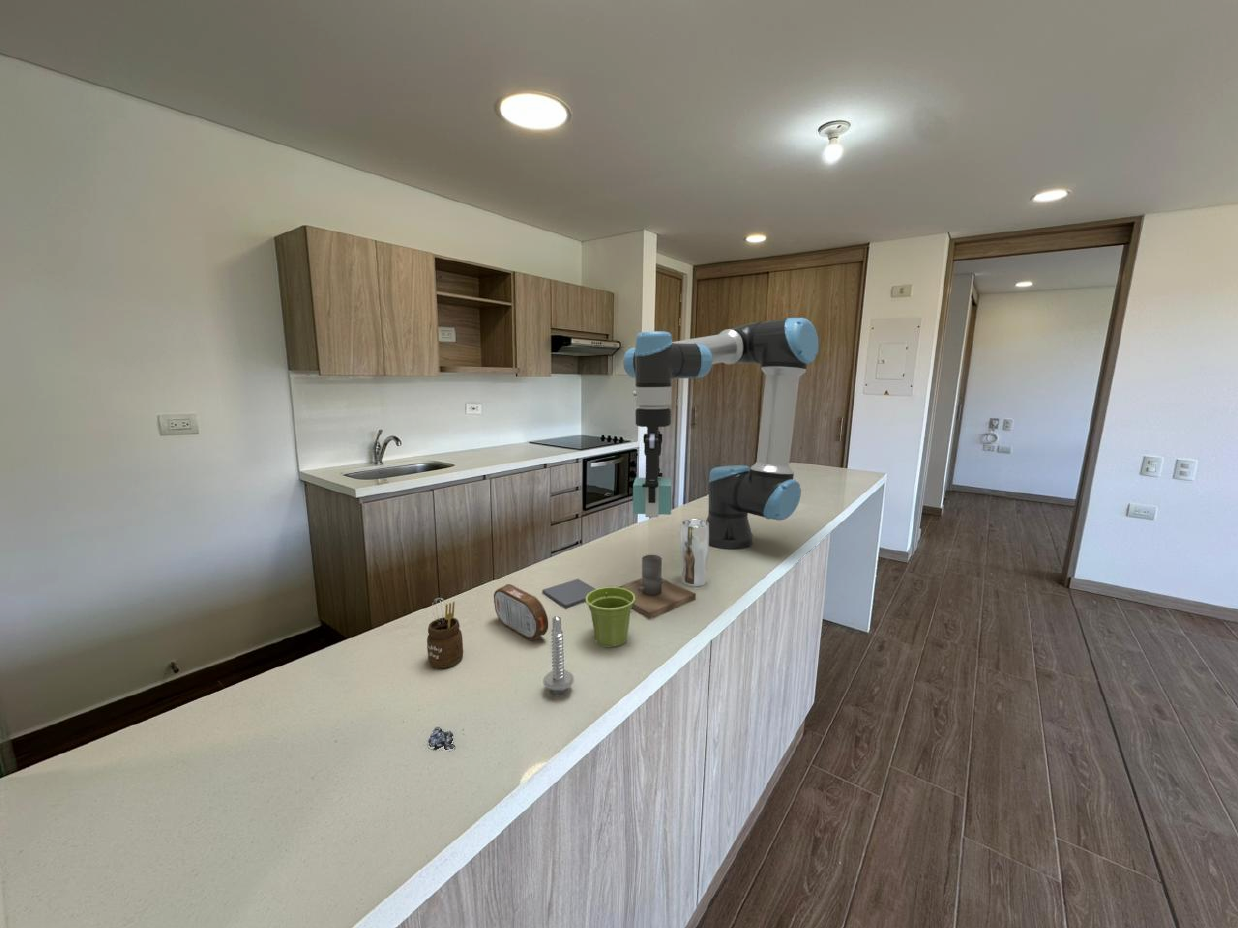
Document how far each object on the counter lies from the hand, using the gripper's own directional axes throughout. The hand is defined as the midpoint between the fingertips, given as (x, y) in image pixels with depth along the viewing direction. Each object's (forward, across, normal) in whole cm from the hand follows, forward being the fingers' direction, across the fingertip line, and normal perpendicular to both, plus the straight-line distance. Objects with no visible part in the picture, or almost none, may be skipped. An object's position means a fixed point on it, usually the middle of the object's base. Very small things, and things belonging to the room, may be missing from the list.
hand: (652, 510), depth 107 cm
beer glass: (+21, -10, +10) cm, 25 cm away
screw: (+20, +35, -14) cm, 43 cm away
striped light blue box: (0, 0, 0) cm, 0 cm away
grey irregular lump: (+21, +47, -27) cm, 58 cm away
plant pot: (+21, +18, -7) cm, 29 cm away
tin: (+21, +17, -26) cm, 37 cm away
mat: (+20, 0, -18) cm, 28 cm away
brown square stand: (+20, 0, 0) cm, 20 cm away
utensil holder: (+20, +28, -36) cm, 50 cm away
